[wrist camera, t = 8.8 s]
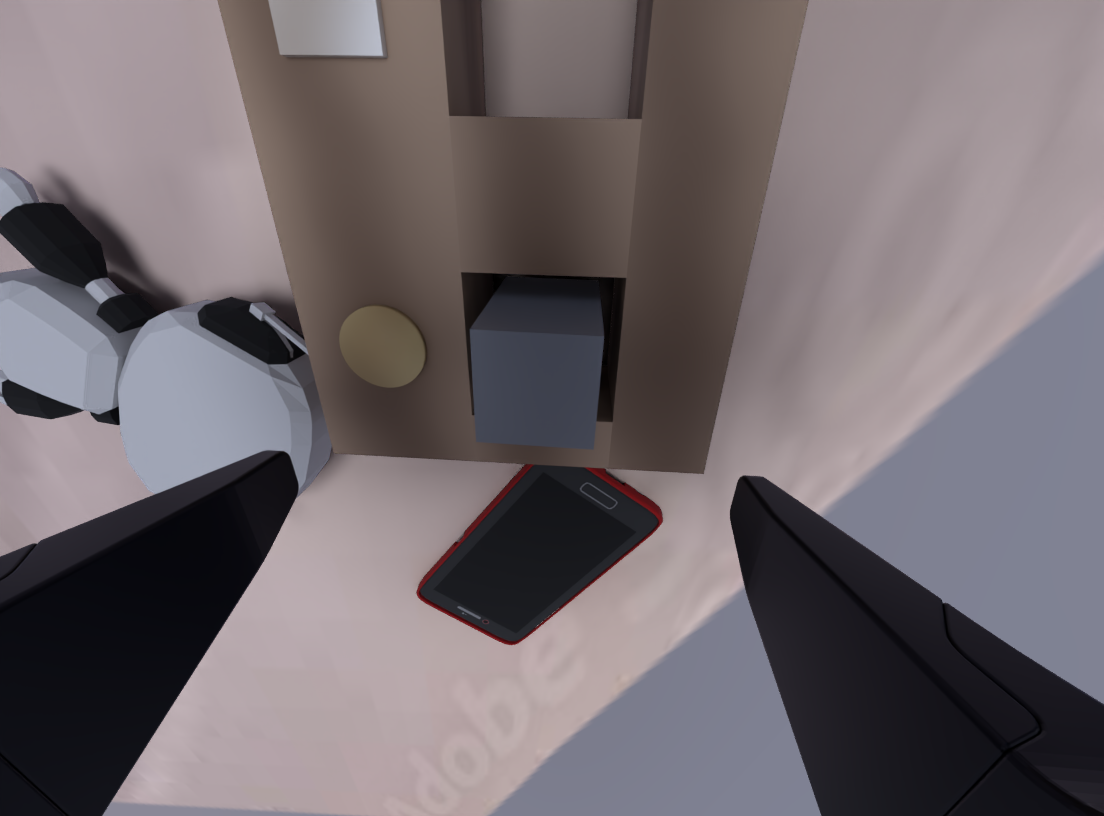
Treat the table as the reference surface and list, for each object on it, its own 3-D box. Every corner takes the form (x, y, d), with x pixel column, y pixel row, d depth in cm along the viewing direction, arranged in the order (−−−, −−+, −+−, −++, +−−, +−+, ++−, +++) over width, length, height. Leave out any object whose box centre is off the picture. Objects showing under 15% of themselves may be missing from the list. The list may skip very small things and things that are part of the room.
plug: (597, 269, 18) (603, 336, 11) (591, 348, 20) (593, 449, 13) (514, 265, 18) (469, 328, 11) (514, 344, 20) (475, 441, 13)
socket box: (780, -166, 12) (895, -361, 8) (679, 408, 21) (705, 478, 16) (286, -159, 13) (122, -333, 8) (384, 394, 22) (329, 457, 17)
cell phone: (668, 507, 24) (671, 520, 24) (514, 636, 31) (512, 650, 30) (553, 430, 23) (552, 440, 22) (414, 583, 29) (409, 596, 28)
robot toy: (54, 376, 24) (315, 515, 26) (-61, 415, 20) (259, 576, 22) (64, 145, 18) (393, 343, 20) (-91, 135, 14) (338, 382, 16)
